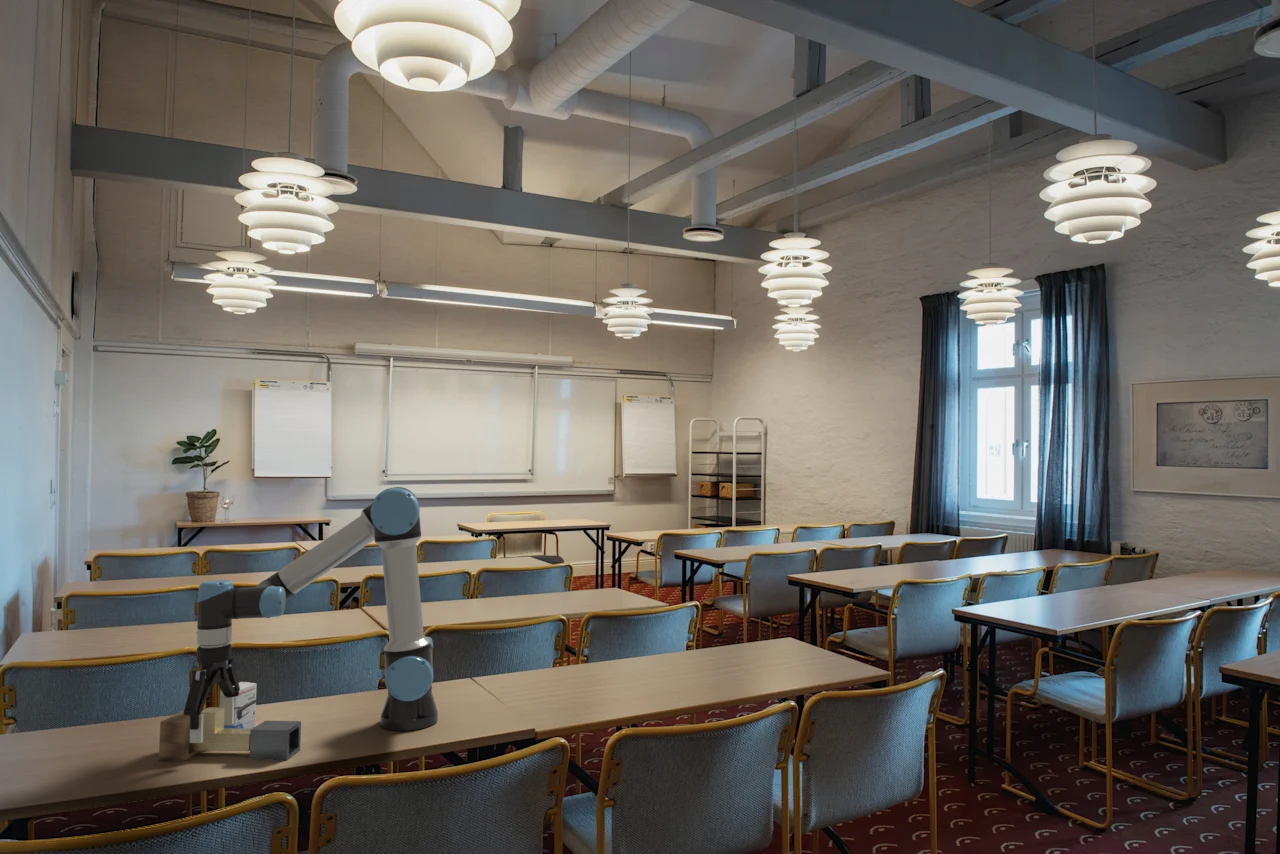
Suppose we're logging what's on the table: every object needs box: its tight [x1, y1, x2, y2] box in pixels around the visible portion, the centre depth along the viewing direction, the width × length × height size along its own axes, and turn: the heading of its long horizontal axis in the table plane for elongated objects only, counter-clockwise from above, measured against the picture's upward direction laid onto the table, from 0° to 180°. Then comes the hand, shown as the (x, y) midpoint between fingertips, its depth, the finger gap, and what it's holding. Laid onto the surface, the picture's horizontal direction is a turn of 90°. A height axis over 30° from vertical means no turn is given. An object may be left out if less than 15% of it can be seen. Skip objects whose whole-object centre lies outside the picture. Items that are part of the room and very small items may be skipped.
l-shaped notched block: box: [189, 706, 252, 752], centre depth 193 cm, size 17×4×9 cm, turn 89°
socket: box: [158, 709, 204, 762], centre depth 194 cm, size 6×10×9 cm, turn 179°
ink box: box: [219, 681, 257, 729], centre depth 210 cm, size 8×5×12 cm, turn 168°
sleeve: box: [249, 720, 302, 761], centre depth 193 cm, size 9×7×7 cm
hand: (212, 733), depth 193 cm, fingers open, 13 cm apart
